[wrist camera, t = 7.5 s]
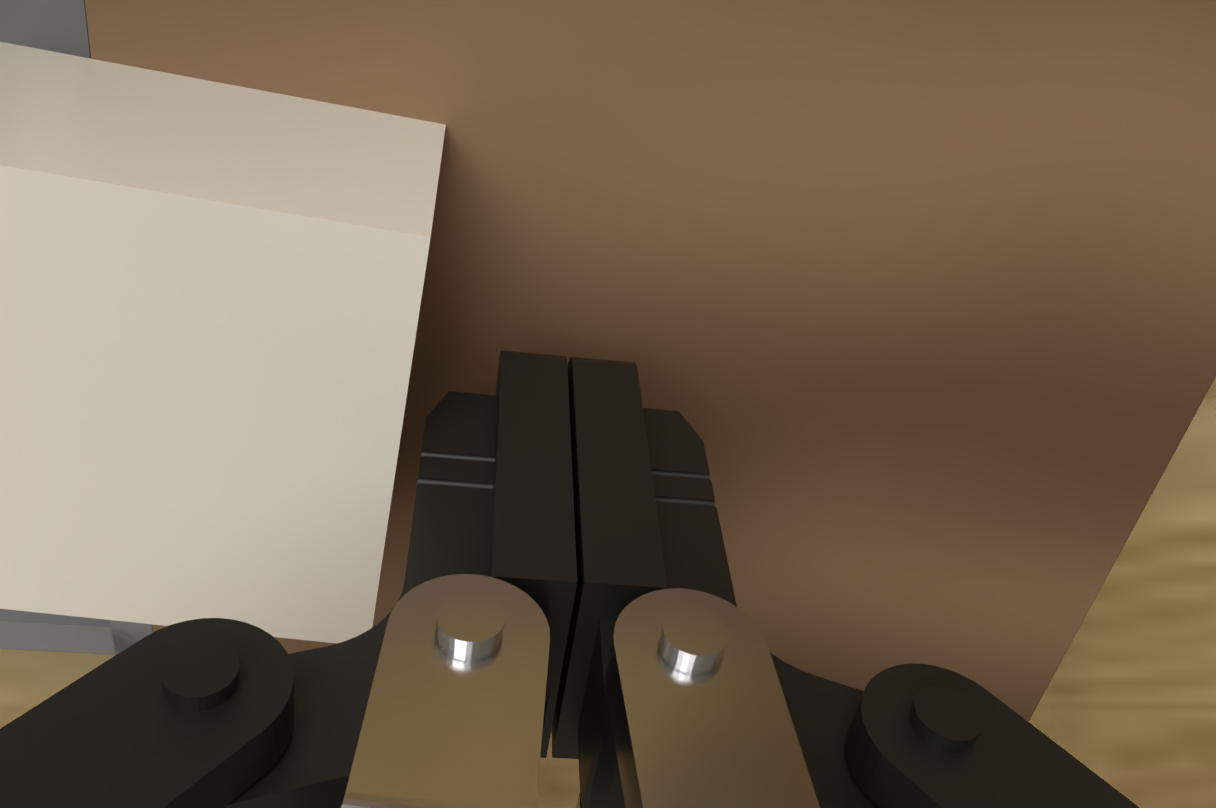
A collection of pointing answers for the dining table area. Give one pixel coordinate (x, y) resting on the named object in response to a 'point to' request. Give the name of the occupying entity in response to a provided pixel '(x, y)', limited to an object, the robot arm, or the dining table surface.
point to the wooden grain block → (809, 271)
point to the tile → (202, 344)
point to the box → (54, 21)
